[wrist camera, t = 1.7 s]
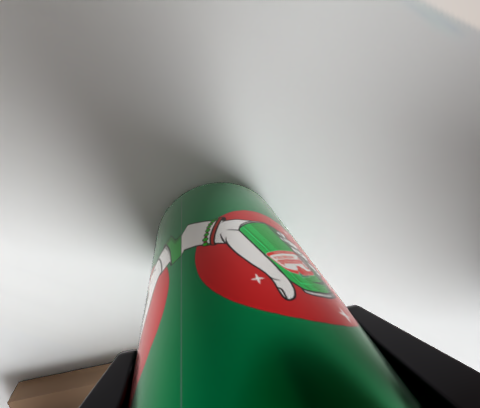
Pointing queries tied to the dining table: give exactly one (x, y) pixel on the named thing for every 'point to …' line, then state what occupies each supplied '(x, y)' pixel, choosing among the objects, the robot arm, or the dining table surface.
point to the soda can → (249, 318)
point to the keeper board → (57, 389)
